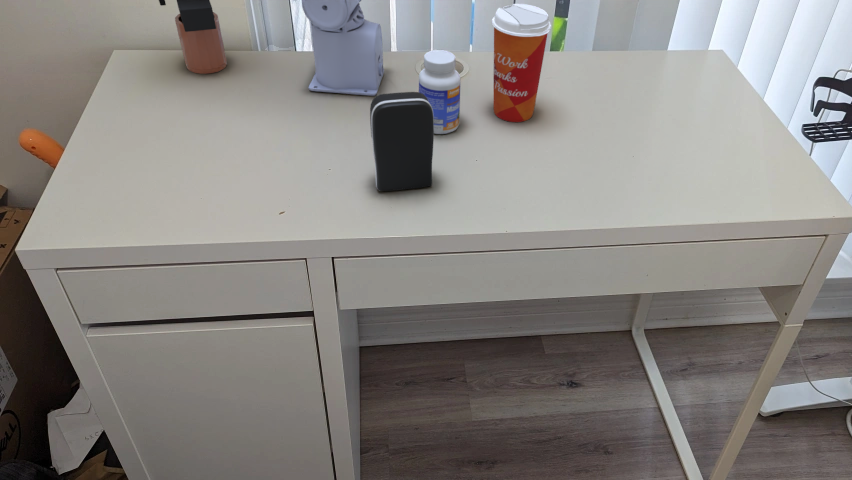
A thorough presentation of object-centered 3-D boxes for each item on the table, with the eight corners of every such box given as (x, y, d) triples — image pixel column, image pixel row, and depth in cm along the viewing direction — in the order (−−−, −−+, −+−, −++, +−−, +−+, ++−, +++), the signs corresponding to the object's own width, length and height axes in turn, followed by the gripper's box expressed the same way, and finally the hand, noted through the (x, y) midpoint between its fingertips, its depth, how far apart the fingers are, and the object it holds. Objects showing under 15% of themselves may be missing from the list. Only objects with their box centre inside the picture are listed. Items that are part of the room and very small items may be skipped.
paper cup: (474, 108, 101) (479, 9, 92) (514, 93, 106) (523, -3, 96) (512, 132, 97) (522, 31, 88) (552, 115, 102) (565, 18, 92)
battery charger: (428, 170, 89) (428, 85, 82) (434, 187, 87) (435, 101, 79) (371, 176, 88) (366, 89, 80) (376, 194, 85) (371, 106, 77)
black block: (216, 29, 98) (212, 7, 96) (185, 32, 97) (179, 10, 95) (207, 3, 104) (203, -18, 102) (177, 6, 103) (172, -16, 101)
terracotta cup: (232, 58, 107) (223, 11, 103) (220, 75, 103) (210, 27, 98) (194, 54, 107) (183, 8, 102) (180, 72, 103) (168, 24, 98)
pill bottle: (453, 138, 95) (455, 69, 89) (413, 131, 96) (413, 62, 89) (463, 118, 99) (466, 51, 93) (425, 111, 100) (425, 44, 93)
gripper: (106, -98, 85) (137, 16, 94) (234, -103, 90) (252, 6, 99) (103, -115, 89) (133, -4, 98) (226, -119, 94) (243, -13, 103)
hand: (192, 0), depth 99 cm, fingers open, 7 cm apart
